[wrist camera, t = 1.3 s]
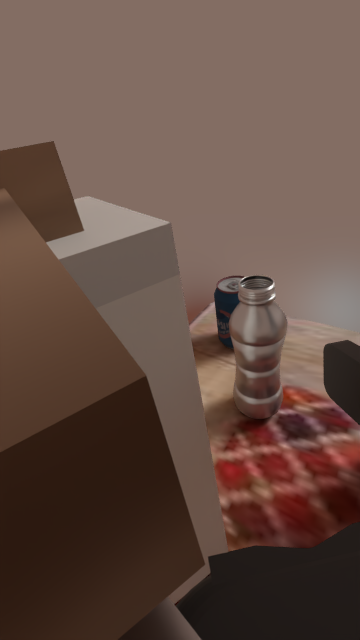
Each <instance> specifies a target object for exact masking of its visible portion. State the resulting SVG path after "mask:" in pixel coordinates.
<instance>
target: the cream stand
mask: <svg viewBox="0 0 360 640" xmlns="http://www.w3.org/2000/svg"><path fill="white" fill-rule="evenodd" d="M74 202H75V205H76V208H77V211H78V214H79V217H80V220H81V222H82V225H83V228H84V231H82V232H79V233H76V234H72V235H69V236H66V237H62V238H59V239H56V240H52V241H49V242H46V244H47V245H48V246H49V248H50V249H51V250H52V251H53V253H54V254H55V255H56V257H57V258H58V259H59V261H60V262H61V263H62V265H63V266H64V267H65V269H66V270H67V271H68V273H69V274H70V275H71V277H72V278H73V279H74V281H75V282H76V283H77V285H78V286H79V287H80V288H81V290H82V291H83V292H84V294H85V295H86V296H87V298H88V299H89V300H90V302H91V303H92V304H93V306H94V307H95V308H96V310H97V311H98V312H99V314H100V315H101V316H102V318H103V319H104V320H105V321H106V323H107V324H108V325H109V327H110V328H111V329H112V331H113V332H114V333H115V335H116V336H117V337H118V339H119V340H120V341H121V343H122V344H123V345H124V347H125V348H126V349H127V351H128V352H129V353H130V354H131V356H132V357H133V358H134V360H135V361H136V362H137V364H138V365H139V366H140V368H141V369H142V370H143V372H144V373H145V374H146V376H147V379H148V382H149V386H150V389H151V392H152V395H153V398H154V402H155V405H156V408H157V411H158V414H159V418H160V421H161V424H162V427H163V430H164V434H165V437H166V440H167V443H168V447H169V450H170V453H171V456H172V459H173V463H174V466H175V469H176V472H177V475H178V479H179V482H180V485H181V488H182V491H183V495H184V498H185V501H186V504H187V507H188V511H189V514H190V517H191V520H192V523H193V527H194V530H195V533H196V536H197V539H198V543H199V546H200V549H201V552H202V555H203V559H204V562H205V565H204V566H203V567H202V568H201V569H199V570H198V571H197V572H196V573H195V574H194V575H192V576H191V577H190V578H189V579H188V580H187V581H185V582H184V583H183V584H182V585H181V586H180V587H178V588H177V589H176V590H175V591H174V592H173V593H171V594H170V595H169V596H168V597H169V598H170V600H171V601H172V602H173V604H175V603H177V602H178V601H179V600H180V599H181V598H182V597H183V596H185V595H186V594H187V593H188V592H189V591H190V590H191V589H192V588H193V587H194V586H196V585H197V584H198V583H199V582H201V581H202V580H203V579H204V578H205V577H206V576H207V575H209V574H210V573H211V572H210V566H209V561H208V556H213V555H217V554H221V553H226V552H228V546H227V541H226V535H225V529H224V523H223V518H222V512H221V506H220V501H219V495H218V489H217V483H216V478H215V472H214V466H213V461H212V455H211V449H210V443H209V438H208V432H207V426H206V421H205V415H204V409H203V403H202V398H201V392H200V386H199V381H198V375H197V369H196V363H195V358H194V352H193V346H192V341H191V335H190V329H189V323H188V318H187V312H186V306H185V301H184V295H183V289H182V284H181V278H180V272H179V266H178V261H177V255H176V249H175V244H174V238H173V232H172V227H171V223H170V222H167V221H164V220H161V219H157V218H155V217H152V216H148V215H145V214H142V213H139V212H136V211H133V210H130V209H126V208H123V207H120V206H117V205H114V204H111V203H107V202H105V201H101V200H98V199H95V198H92V197H89V196H86V197H83V198H79V199H75V200H74Z"/></svg>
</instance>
